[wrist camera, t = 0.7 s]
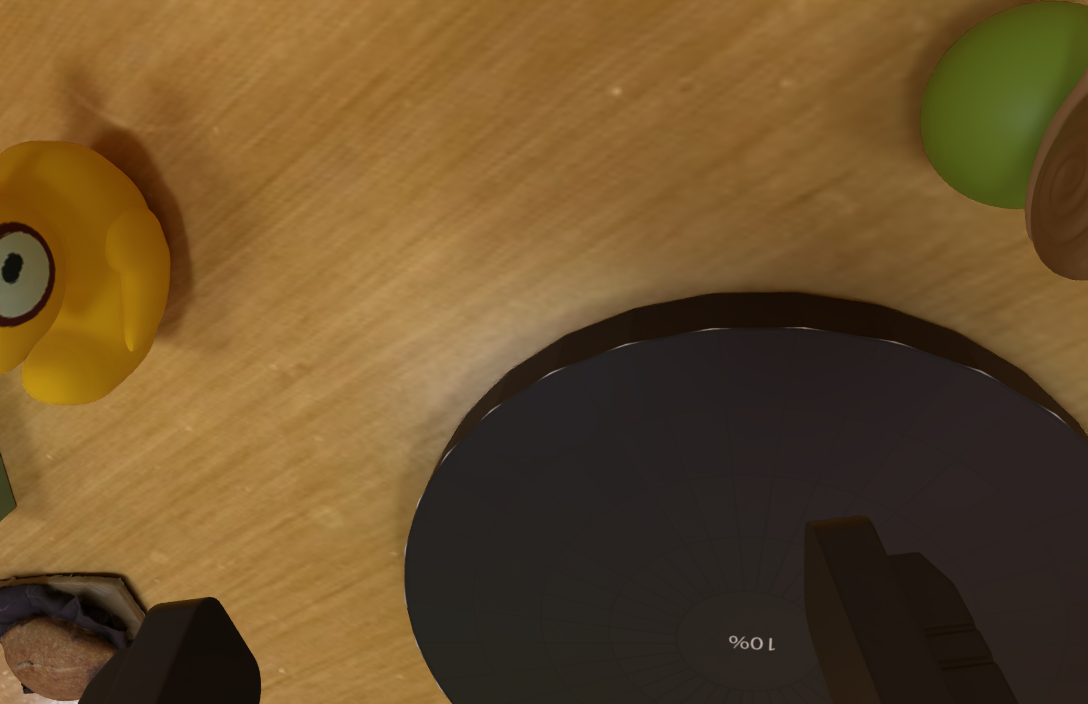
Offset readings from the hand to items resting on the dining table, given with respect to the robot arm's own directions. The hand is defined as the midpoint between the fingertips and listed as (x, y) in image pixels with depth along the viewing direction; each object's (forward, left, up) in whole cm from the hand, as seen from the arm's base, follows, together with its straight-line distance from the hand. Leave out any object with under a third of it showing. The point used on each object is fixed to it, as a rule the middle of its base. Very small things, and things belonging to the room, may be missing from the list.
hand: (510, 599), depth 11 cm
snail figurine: (-5, +11, -20) cm, 23 cm away
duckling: (+5, -19, -20) cm, 28 cm away
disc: (+18, +8, -20) cm, 28 cm away
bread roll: (+31, -26, -20) cm, 45 cm away
